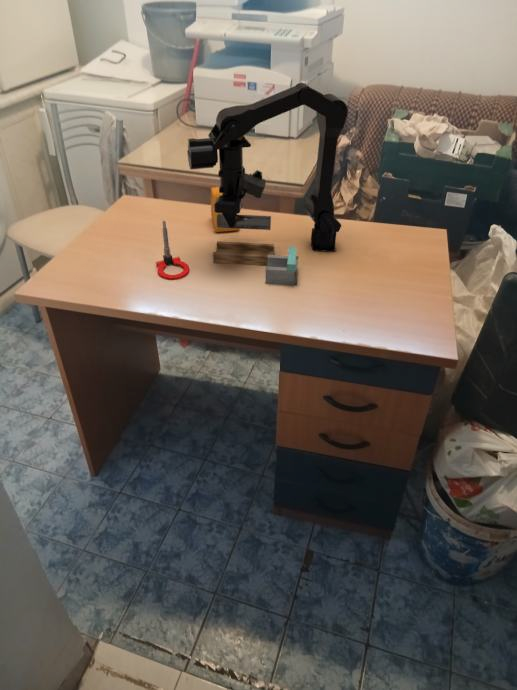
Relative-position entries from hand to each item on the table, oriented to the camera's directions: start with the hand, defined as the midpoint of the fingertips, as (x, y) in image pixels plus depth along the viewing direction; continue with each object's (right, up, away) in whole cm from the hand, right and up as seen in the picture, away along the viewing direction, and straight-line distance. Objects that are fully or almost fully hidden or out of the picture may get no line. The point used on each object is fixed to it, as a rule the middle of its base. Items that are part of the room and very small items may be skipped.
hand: (232, 223), depth 135 cm
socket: (+13, -14, -2) cm, 19 cm away
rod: (+3, -1, +1) cm, 3 cm away
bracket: (-3, +4, +21) cm, 22 cm away
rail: (+3, -8, +6) cm, 10 cm away
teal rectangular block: (+15, -11, -5) cm, 19 cm away
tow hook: (-16, -13, +1) cm, 20 cm away
